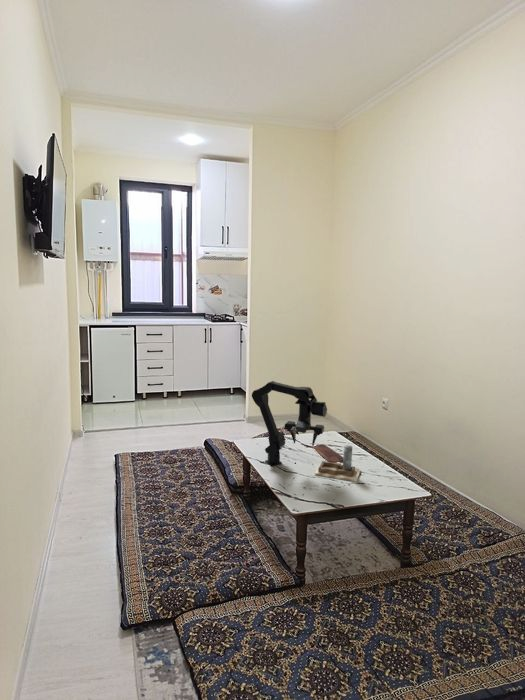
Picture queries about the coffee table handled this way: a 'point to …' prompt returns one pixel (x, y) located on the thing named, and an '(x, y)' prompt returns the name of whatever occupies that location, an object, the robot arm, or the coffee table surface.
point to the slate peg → (347, 457)
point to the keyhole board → (337, 471)
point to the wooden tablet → (328, 453)
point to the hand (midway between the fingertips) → (303, 444)
